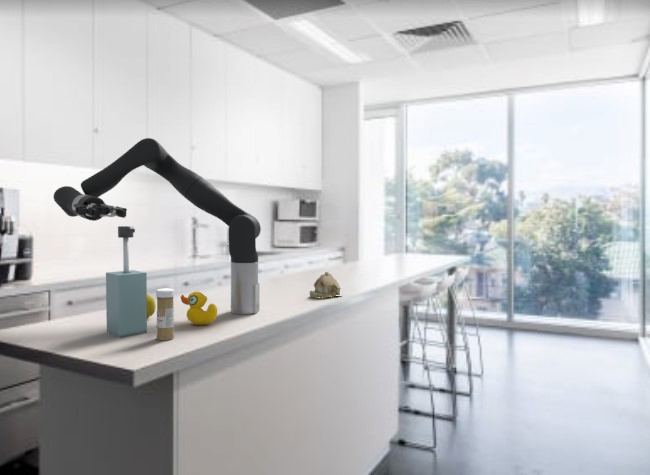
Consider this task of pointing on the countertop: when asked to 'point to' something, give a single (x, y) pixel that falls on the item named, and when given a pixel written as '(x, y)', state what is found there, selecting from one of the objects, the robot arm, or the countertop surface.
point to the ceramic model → (325, 286)
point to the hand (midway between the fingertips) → (110, 213)
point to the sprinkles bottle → (165, 314)
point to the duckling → (199, 309)
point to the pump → (125, 244)
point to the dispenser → (126, 303)
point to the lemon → (150, 306)
